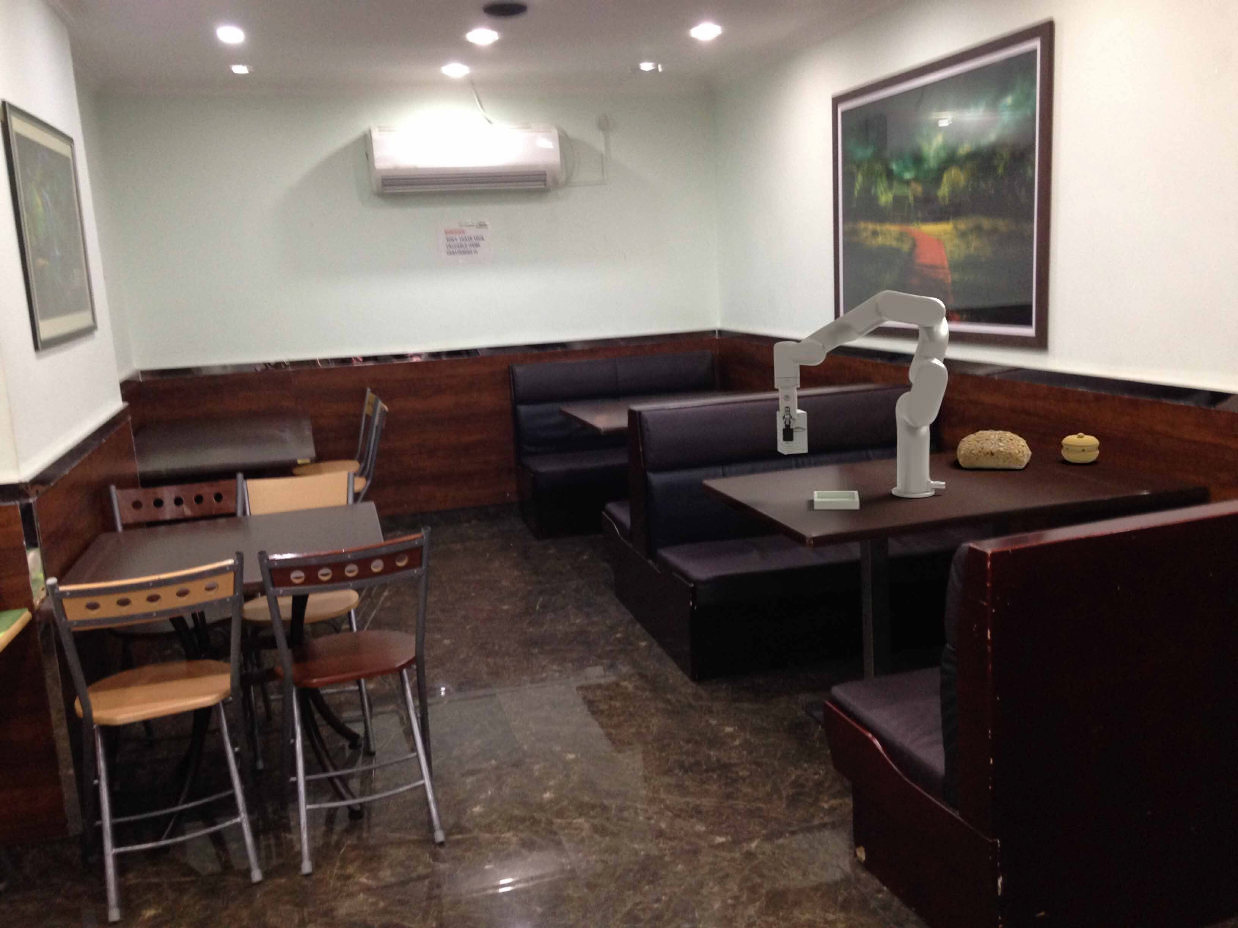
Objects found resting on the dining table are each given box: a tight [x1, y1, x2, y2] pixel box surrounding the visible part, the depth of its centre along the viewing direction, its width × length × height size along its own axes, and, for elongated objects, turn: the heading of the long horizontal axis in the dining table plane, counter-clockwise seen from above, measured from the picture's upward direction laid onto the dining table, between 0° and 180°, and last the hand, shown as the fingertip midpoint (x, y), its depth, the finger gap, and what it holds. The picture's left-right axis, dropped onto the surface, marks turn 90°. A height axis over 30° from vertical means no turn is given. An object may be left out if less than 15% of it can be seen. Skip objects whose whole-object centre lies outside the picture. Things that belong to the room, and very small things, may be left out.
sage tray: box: [813, 490, 860, 510], centre depth 311 cm, size 13×13×2 cm
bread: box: [956, 429, 1033, 470], centre depth 355 cm, size 24×21×12 cm
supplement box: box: [776, 409, 808, 456], centre depth 317 cm, size 7×7×13 cm
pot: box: [1060, 432, 1100, 464], centre depth 352 cm, size 12×12×10 cm
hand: (788, 438), depth 318 cm, fingers closed on supplement box, 8 cm apart
